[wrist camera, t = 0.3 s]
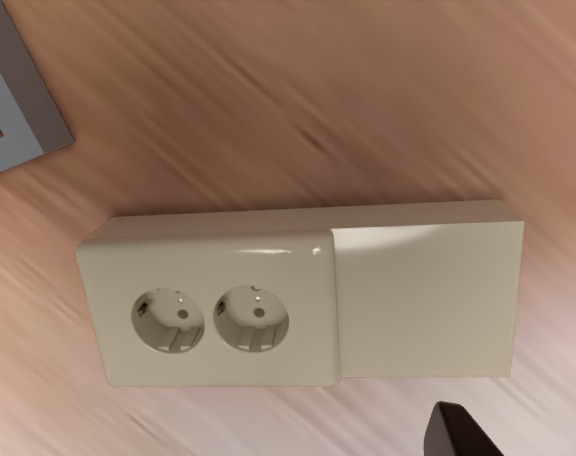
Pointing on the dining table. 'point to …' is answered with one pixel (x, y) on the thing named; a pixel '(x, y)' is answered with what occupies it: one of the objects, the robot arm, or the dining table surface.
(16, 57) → the collar
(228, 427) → the dining table surface
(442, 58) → the dining table surface
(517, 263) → the electrical outlet
